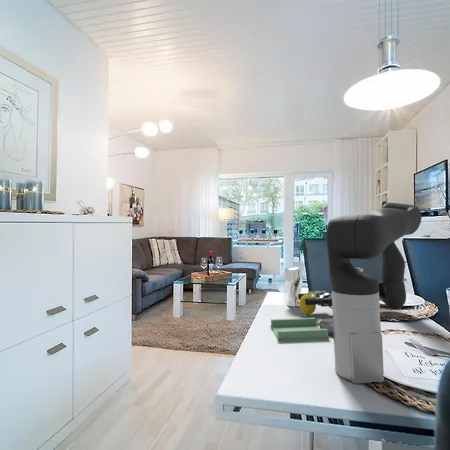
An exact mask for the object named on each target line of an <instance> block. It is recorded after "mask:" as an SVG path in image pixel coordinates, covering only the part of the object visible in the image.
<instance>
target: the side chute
mask: <svg viewBox="0 0 450 450" xmlns="http://www.w3.org/2000/svg"><path fill="white" fill-rule="evenodd" d="M270 327H271V329H272V331H273V332H274V334H275V337H276V338H277V341H278V342H291V341H292V342H293V341H294V342H296V341H298V342H299V341H319V340H321V341H322V340H323V341H324V340H330V337H329V335H328V329H320V327H318V325H317V321H316V317H302V318H301V317H299V318H298V317H297V318H296V317H294V318H272V319H270Z"/></svg>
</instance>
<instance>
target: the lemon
mask: <svg viewBox="0 0 450 450" xmlns="http://www.w3.org/2000/svg"><path fill="white" fill-rule="evenodd" d="M305 293H306V294H305V295H303V296H302V297H301V299H300V307H299V309H300V311H301V312H302V313H303V314H305V315H306V316H307V317H310V316H311V315H312V314H313V313H314V312H315V311H316V309H317V307H316V306H317V304H316V305H306V304H305V299H306V298H313V297H314V295H313V296H312V295H309V294H308V292H305Z"/></svg>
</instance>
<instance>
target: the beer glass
mask: <svg viewBox="0 0 450 450" xmlns="http://www.w3.org/2000/svg"><path fill="white" fill-rule="evenodd" d="M284 284H285V288H286V293H287V301H286V302H287V303H286V305H287V307H289V306H290V308H300V300H299V299H298V294H302V288H303V273H302V268H301V267H286V268H284Z"/></svg>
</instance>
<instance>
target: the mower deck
mask: <svg viewBox="0 0 450 450" xmlns="http://www.w3.org/2000/svg"><path fill="white" fill-rule="evenodd" d="M319 329H328V337H329V336H330V337H333V338H334V331H333V317H326V318H323V319H321V320H320V321H319Z"/></svg>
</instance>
